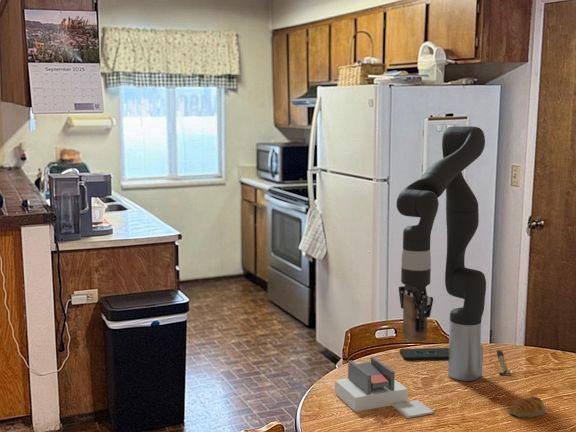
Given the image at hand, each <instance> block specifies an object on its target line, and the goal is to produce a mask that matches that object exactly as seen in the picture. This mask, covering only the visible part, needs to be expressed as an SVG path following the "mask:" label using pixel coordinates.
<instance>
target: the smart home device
mask: <svg viewBox="0 0 576 432" xmlns="http://www.w3.org/2000/svg"><path fill="white" fill-rule="evenodd" d="M399 354H400V356H401V355H402V356H401V358H402V359H403V361H405V360H419V361H444V360H445V361H446V360H447V361H448V359H449V347H433V348H429V347H428V348H400V349H399Z"/></svg>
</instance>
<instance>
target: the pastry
mask: <svg viewBox="0 0 576 432" xmlns="http://www.w3.org/2000/svg"><path fill="white" fill-rule="evenodd" d="M509 410H510V411H509V413H510V414H511V415H514V416H515V417H518V418H534V417H538V416H543V415H544V414H545V413H547V409H546V405H545V404H544V402H543V400H542V399H541V398H539V397H538V396H530V397H527V398H526V397H525V398H520V399H518V401H516V402H515V403H513V404H512V405H511V406H510V408H509Z"/></svg>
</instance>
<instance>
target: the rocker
mask: <svg viewBox="0 0 576 432" xmlns="http://www.w3.org/2000/svg"><path fill="white" fill-rule="evenodd" d="M356 364H357V365H358V366H360V367H361V368H362V369H364V370H365V371H366V372H368V373H369V374H370V375H371V388H372V389H374V388H380V387H386V386H389V381H388V380H387V379H386V378H385V377H384V376H383V375H382V374H381V373H380V372H379V371H378V370H377V369H376V368H375V367H374V366H373V365H372V364H371V361H368V362H359V363H356Z"/></svg>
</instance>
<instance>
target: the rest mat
mask: <svg viewBox="0 0 576 432" xmlns="http://www.w3.org/2000/svg"><path fill="white" fill-rule="evenodd" d="M391 406H392V408H394V409H395V410H396V411H398V412H399V413H400V414H401V415H402V416H404V417H405V418H406V419H410V418H417V417H423V416H427V415H433V414H434V413H435V412H434V410H432V409H431V408H429V407H428V406H427V405H425V404H424V403H422V402H421V401H420V400H417V399H416V400H412V401H411V400H410V401H407V402H404V403H398V404H392V405H391Z"/></svg>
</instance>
